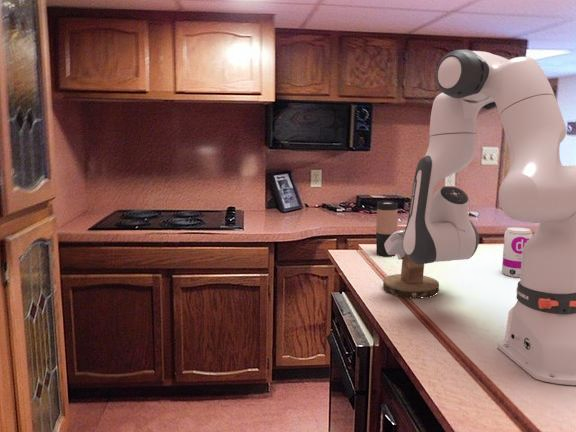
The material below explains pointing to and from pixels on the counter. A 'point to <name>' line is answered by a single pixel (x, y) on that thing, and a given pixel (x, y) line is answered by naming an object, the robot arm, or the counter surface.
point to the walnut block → (411, 271)
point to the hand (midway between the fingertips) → (410, 256)
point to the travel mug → (385, 225)
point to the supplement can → (514, 250)
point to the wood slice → (410, 287)
